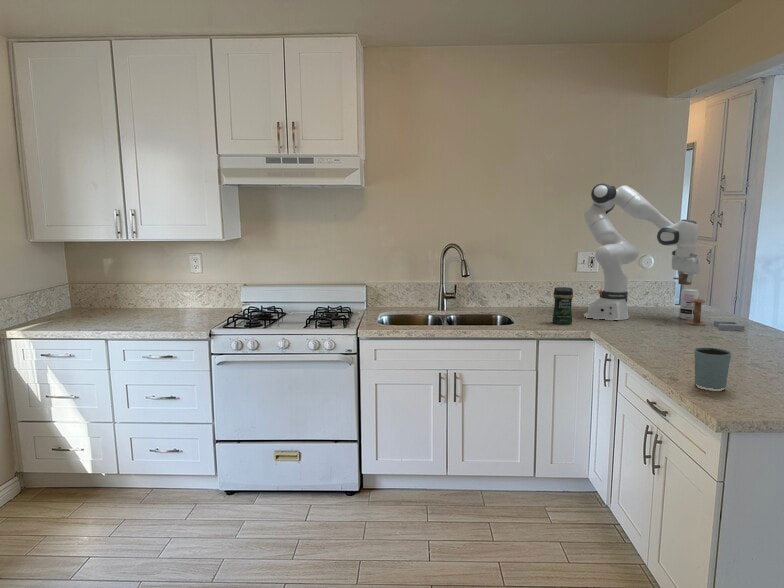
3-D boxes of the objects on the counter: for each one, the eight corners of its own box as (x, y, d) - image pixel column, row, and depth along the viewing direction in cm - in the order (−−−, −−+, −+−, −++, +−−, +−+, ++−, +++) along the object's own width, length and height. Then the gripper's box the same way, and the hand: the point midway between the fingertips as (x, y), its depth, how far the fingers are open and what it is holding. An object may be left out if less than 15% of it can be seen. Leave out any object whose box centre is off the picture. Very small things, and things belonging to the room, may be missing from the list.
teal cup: (694, 390, 170) (697, 353, 168) (689, 381, 179) (692, 345, 177) (731, 393, 166) (734, 356, 164) (724, 383, 175) (727, 348, 174)
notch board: (719, 330, 251) (719, 324, 251) (713, 325, 261) (713, 320, 261) (744, 331, 248) (744, 325, 248) (737, 326, 258) (737, 321, 258)
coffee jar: (553, 324, 270) (554, 288, 267) (551, 321, 278) (552, 286, 275) (573, 325, 268) (574, 288, 266) (571, 322, 276) (572, 286, 273)
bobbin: (690, 325, 263) (691, 301, 261) (687, 322, 269) (688, 298, 268) (706, 325, 261) (708, 301, 259) (703, 322, 267) (704, 299, 265)
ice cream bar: (672, 283, 270) (672, 273, 269) (674, 282, 272) (675, 273, 271) (688, 285, 264) (689, 274, 263) (691, 284, 266) (692, 274, 265)
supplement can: (693, 317, 282) (694, 288, 280) (700, 320, 274) (702, 291, 272) (676, 317, 283) (678, 288, 281) (683, 320, 275) (685, 291, 273)
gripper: (705, 254, 254) (703, 283, 256) (682, 251, 274) (680, 278, 276) (691, 254, 254) (689, 283, 256) (669, 251, 274) (668, 278, 276)
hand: (684, 280), depth 267 cm, fingers closed on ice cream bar, 6 cm apart
